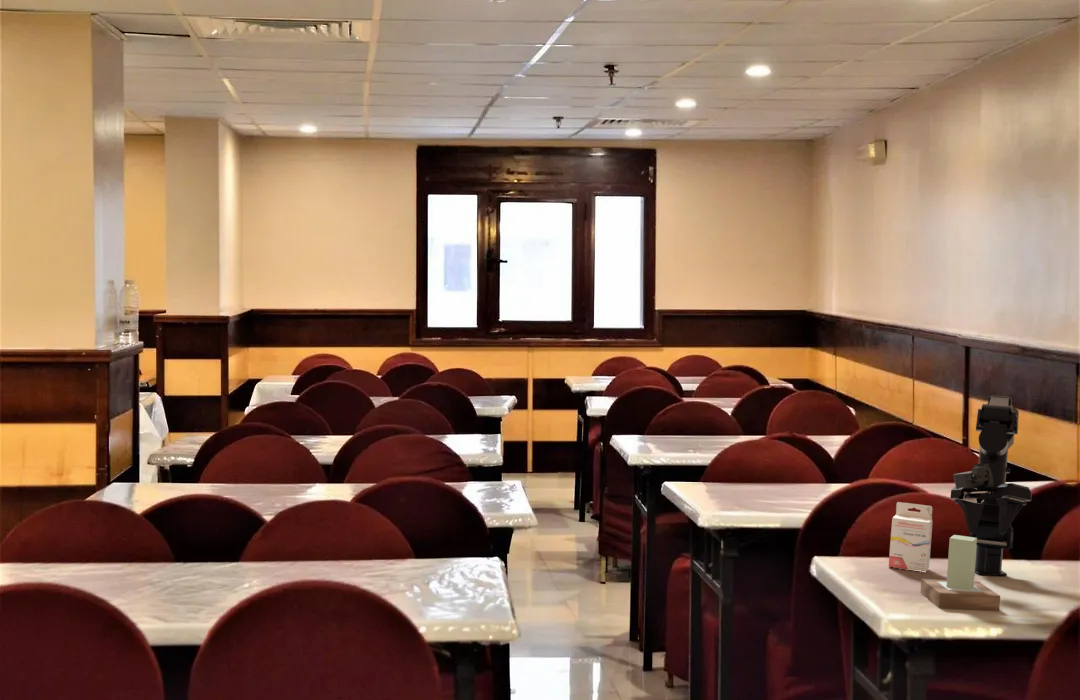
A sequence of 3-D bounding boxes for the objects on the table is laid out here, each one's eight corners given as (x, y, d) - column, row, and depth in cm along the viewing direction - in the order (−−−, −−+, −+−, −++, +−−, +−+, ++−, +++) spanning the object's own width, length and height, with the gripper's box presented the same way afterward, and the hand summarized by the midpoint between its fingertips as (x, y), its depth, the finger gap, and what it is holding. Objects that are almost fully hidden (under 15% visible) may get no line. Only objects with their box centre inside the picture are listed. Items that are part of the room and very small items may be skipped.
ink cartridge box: (887, 568, 276) (891, 504, 275) (891, 564, 280) (895, 501, 280) (927, 573, 272) (931, 508, 272) (929, 569, 277) (933, 505, 276)
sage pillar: (946, 586, 246) (949, 538, 245) (951, 582, 250) (954, 534, 249) (969, 590, 244) (972, 541, 243) (973, 586, 248) (976, 537, 247)
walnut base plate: (920, 593, 253) (921, 578, 253) (978, 595, 253) (979, 581, 253) (938, 607, 241) (940, 592, 241) (999, 610, 241) (1000, 595, 241)
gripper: (933, 457, 267) (926, 527, 263) (993, 451, 250) (987, 526, 246) (974, 467, 270) (968, 536, 267) (1036, 461, 253) (1030, 536, 250)
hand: (986, 533), depth 257 cm, fingers open, 9 cm apart
